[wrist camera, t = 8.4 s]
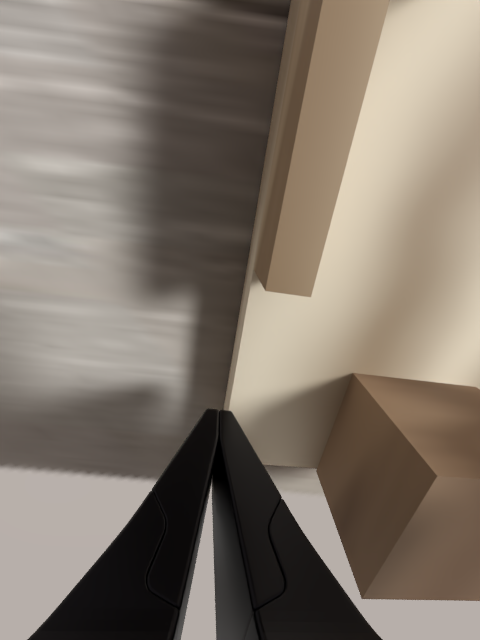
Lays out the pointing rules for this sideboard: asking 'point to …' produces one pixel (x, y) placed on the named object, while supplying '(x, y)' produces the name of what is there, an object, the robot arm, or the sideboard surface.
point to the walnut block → (407, 487)
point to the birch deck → (361, 218)
